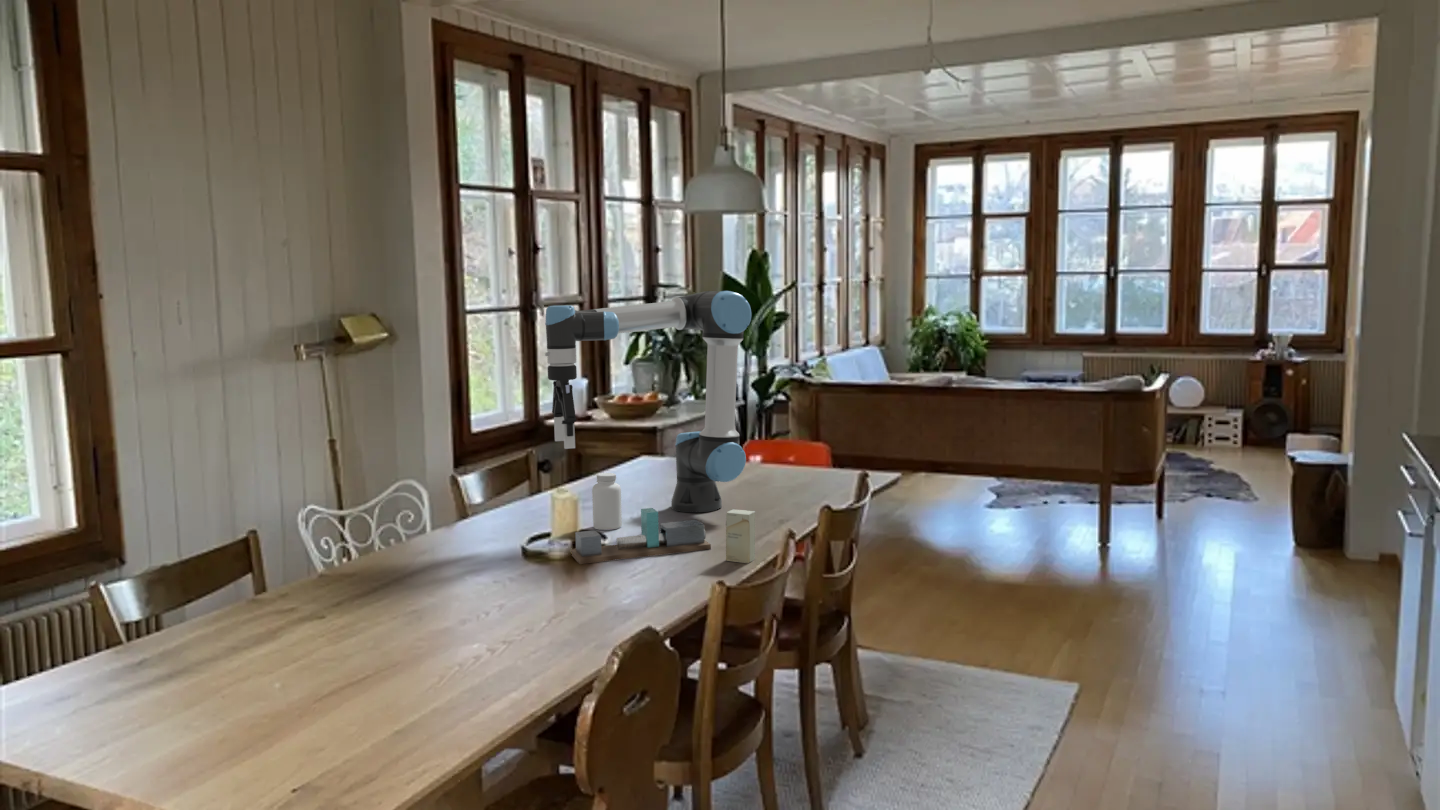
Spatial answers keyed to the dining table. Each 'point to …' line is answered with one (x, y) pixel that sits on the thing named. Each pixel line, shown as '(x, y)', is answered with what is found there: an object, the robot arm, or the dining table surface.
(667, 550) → the board
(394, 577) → the dining table surface
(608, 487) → the pill bottle
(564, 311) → the robot arm
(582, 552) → the grey cube
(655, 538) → the sliding bolt
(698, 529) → the sleeve
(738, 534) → the skincare box
